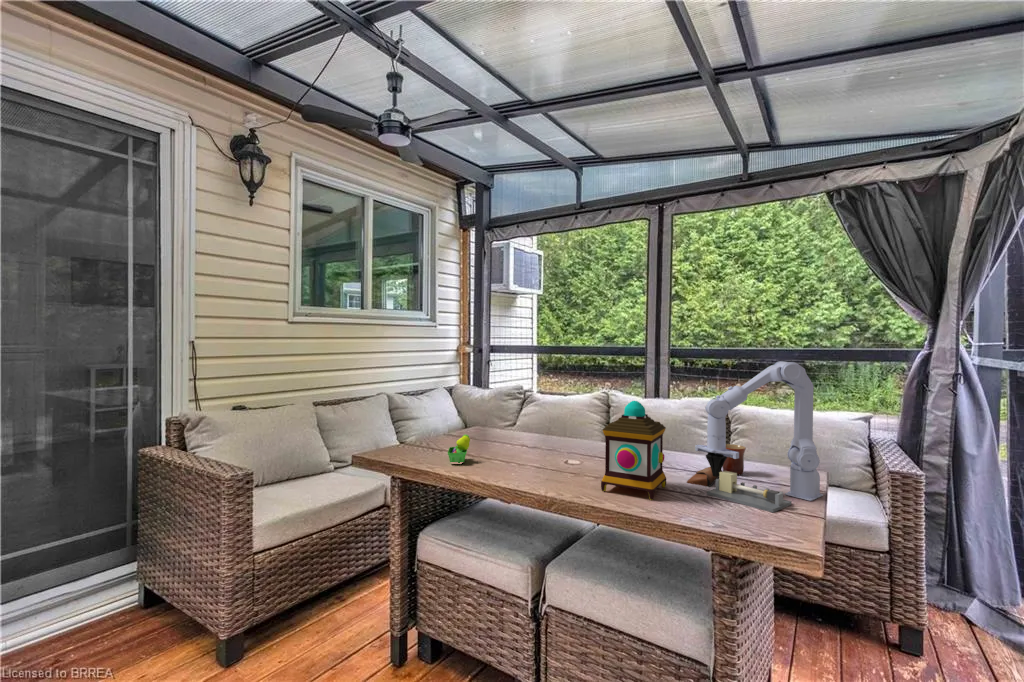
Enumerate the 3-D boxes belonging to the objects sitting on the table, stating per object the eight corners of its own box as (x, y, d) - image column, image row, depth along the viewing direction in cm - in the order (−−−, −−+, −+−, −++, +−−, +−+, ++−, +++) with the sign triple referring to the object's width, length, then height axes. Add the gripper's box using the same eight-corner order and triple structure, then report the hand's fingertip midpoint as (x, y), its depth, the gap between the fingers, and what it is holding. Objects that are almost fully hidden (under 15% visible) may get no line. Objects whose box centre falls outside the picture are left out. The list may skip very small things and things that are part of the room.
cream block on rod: (719, 490, 158) (719, 472, 158) (725, 488, 160) (725, 470, 160) (731, 493, 155) (731, 474, 155) (736, 491, 157) (736, 473, 157)
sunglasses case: (698, 471, 185) (708, 458, 183) (715, 484, 181) (725, 470, 179) (685, 482, 170) (695, 468, 168) (703, 496, 166) (713, 481, 164)
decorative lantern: (656, 503, 148) (656, 406, 148) (595, 492, 159) (596, 401, 159) (671, 486, 165) (671, 399, 166) (615, 477, 176) (616, 395, 176)
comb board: (706, 494, 157) (706, 480, 157) (725, 487, 164) (726, 474, 164) (773, 512, 140) (773, 497, 140) (791, 504, 148) (791, 490, 148)
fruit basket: (449, 458, 203) (449, 432, 203) (470, 458, 203) (470, 432, 203) (447, 465, 191) (447, 437, 191) (469, 465, 192) (469, 437, 192)
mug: (744, 471, 186) (744, 445, 186) (747, 477, 177) (747, 449, 177) (710, 468, 190) (710, 442, 190) (712, 474, 181) (712, 447, 181)
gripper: (690, 433, 164) (689, 473, 164) (731, 440, 153) (730, 483, 153) (701, 431, 169) (701, 469, 169) (742, 437, 157) (742, 479, 157)
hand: (716, 476), depth 161 cm, fingers closed
